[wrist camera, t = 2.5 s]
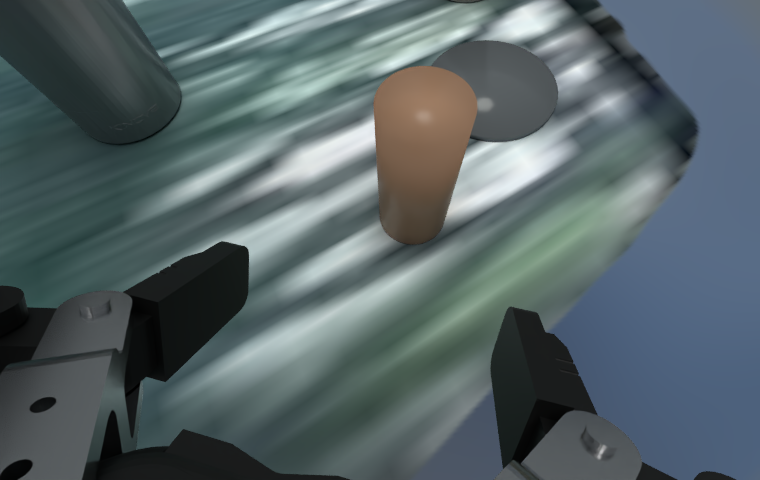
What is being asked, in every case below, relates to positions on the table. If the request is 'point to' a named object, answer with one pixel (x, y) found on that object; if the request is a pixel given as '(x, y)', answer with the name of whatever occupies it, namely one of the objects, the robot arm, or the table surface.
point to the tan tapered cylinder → (420, 148)
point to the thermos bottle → (465, 1)
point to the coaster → (503, 88)
